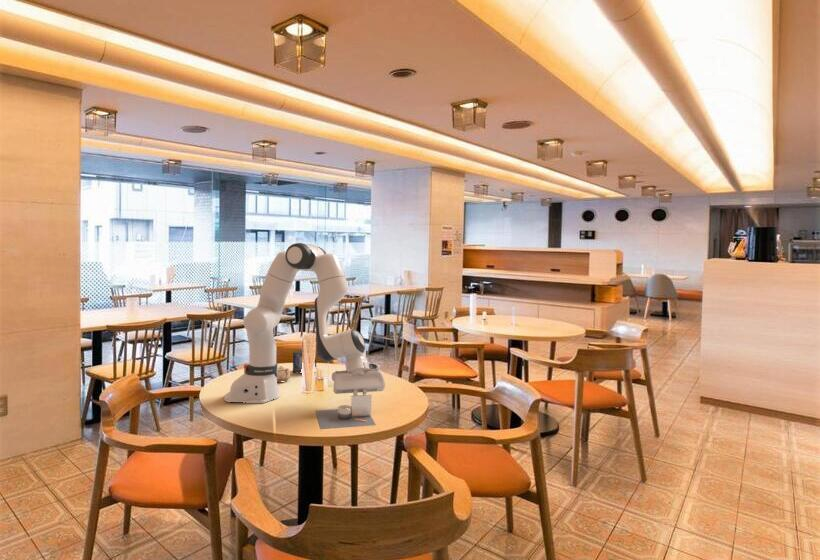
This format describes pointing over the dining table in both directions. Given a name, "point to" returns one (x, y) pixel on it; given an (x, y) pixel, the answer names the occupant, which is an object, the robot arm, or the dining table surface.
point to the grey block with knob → (356, 407)
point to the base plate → (341, 420)
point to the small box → (298, 361)
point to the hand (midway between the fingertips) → (361, 401)
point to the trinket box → (283, 373)
